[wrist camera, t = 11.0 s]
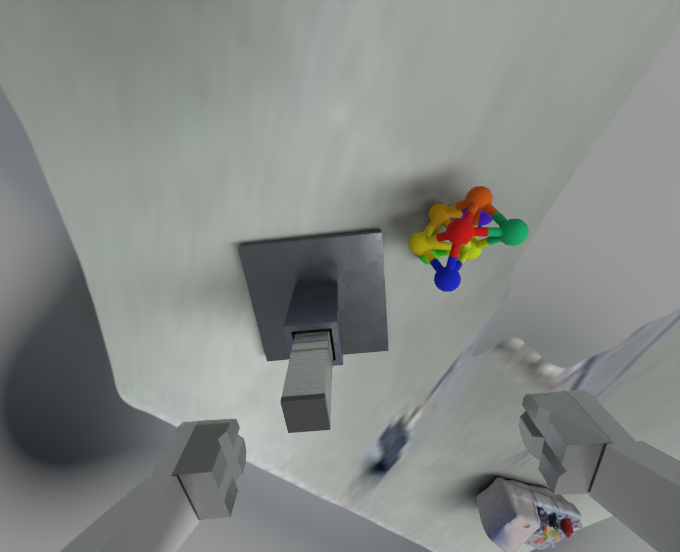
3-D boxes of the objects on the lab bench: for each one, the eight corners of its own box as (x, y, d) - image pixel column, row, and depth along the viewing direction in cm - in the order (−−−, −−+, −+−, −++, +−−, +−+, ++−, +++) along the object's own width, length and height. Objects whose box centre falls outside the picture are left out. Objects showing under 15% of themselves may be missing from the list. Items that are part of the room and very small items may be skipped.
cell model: (521, 524, 57) (609, 544, 61) (493, 465, 67) (570, 486, 70) (481, 561, 62) (564, 577, 66) (461, 501, 72) (534, 519, 75)
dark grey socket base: (241, 244, 46) (210, 280, 35) (380, 229, 45) (393, 262, 34) (269, 355, 54) (251, 412, 44) (387, 344, 54) (399, 400, 43)
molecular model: (424, 265, 48) (450, 303, 37) (396, 229, 45) (414, 259, 35) (493, 216, 45) (542, 242, 34) (466, 175, 42) (510, 189, 32)
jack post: (300, 306, 44) (279, 401, 29) (330, 304, 44) (325, 397, 29) (304, 331, 46) (287, 433, 31) (333, 329, 45) (330, 429, 30)
